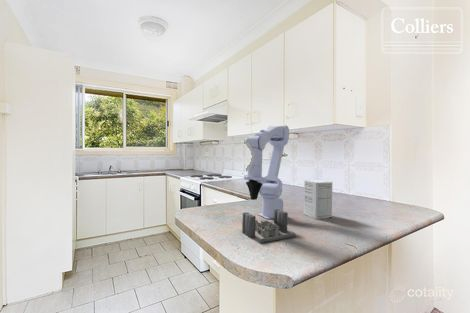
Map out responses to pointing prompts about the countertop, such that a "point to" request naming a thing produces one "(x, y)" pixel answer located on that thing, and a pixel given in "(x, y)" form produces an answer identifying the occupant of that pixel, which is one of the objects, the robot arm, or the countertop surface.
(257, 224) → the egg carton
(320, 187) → the supplement box
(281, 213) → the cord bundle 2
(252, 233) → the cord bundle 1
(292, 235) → the dark grey rod
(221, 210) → the countertop surface
